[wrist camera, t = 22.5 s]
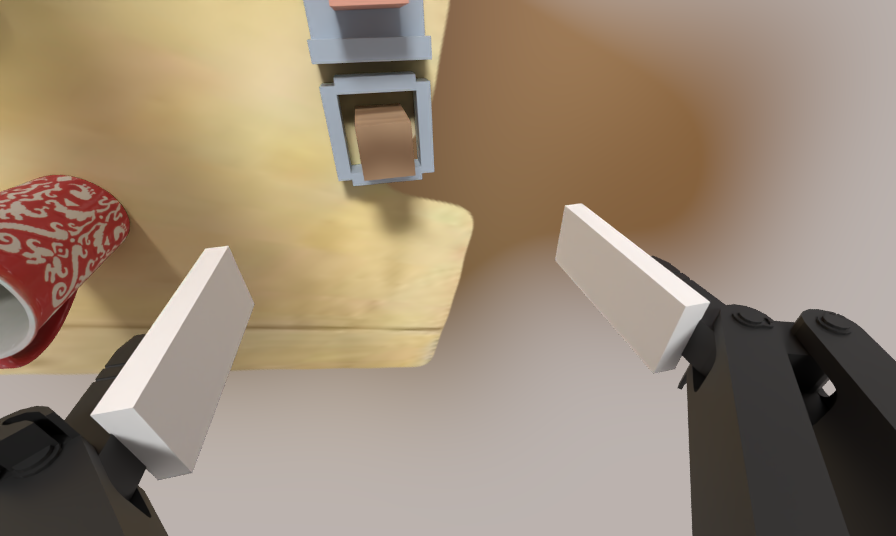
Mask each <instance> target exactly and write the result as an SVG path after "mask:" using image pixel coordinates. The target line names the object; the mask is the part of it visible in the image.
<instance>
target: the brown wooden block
mask: <svg viewBox="0 0 896 536" xmlns="http://www.w3.org/2000/svg"><path fill="white" fill-rule="evenodd" d="M355 131H356V136H357V142H358V148H359V153H360V159H361V164H362V170H363V176H364V181H369V180H378V179H387V178H396V177H406V176H415V175H416V173H415V162H414V151H413V140H412V128H411V121H410V119H409V118H408V116H407V114H406V113H405V111H404V109H403V108H402V106H401V104H400V103H395V104H381V105H368V106H355Z"/></svg>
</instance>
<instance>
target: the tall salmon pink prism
mask: <svg viewBox="0 0 896 536" xmlns="http://www.w3.org/2000/svg"><path fill="white" fill-rule="evenodd" d="M408 3H409V0H329V5H330V7H331V8H332V9H333V10H334V11H339V10H362V9H386V8H400V7H402V6H404V5H406V4H408Z"/></svg>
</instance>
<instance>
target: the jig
mask: <svg viewBox="0 0 896 536" xmlns="http://www.w3.org/2000/svg"><path fill="white" fill-rule="evenodd" d="M303 1H304V6H305V11H306V16H307V21H308V26H309V30H310V35H311V39H310V40H307V42H308V47H309V51H310V56H311V61H312V64H329V63H353V62H377V61H401V60H424V59H432V50H431V36H425V30H424V10H423V0H409V3H408V4H406V5H404V6H402V7H400V8H386V9H362V10H339V11H334V10H333V9H332V8H331V7H330V5H329V0H303ZM333 79H334V83H322V84H321V85H320V87H319V88H320V93H321V98H322V103H323V108H324V112H325V117H326V122H327V127H328V132H329V136H330V141H331V146H332V151H333V155H334V160H335V165H336V170H337V175H338V179H339V181H346V180H352V181H353V186H360V185H370V184H380V183H390V182H400V181H410V180H421V179H422V173H429V172H434V157H433V136H432V135H433V134H432V113H431V90H430V81H429V80H427V79H426V78H419V79H416V77H415V73H413V72H412V71H402V72H381V73H360V74H339V75H334V78H333ZM395 91H413V101H414V115H415V129H416V142H417V156H418V159H414V162H415V173H416V175H415V176H406V177H396V178H387V179H378V180H369V181H364V176H363V170H362V164H357V165H351V160H350V155H349V149H348V144H347V138H346V133H345V127H344V122H343V116H342V111H341V106H340V100H339V95H342V94H360V93H378V92H395Z"/></svg>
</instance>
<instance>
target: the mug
mask: <svg viewBox="0 0 896 536" xmlns="http://www.w3.org/2000/svg"><path fill="white" fill-rule="evenodd" d="M129 228H130V222H129V218H128V216H127V213H126V211H125V210H124V208H123V207H122V205H121V204H120V203H119V202H118V201H117V200H116V199H115V198H114V197H113V196H112V195H111V194H110V193H108V192H107V191H105V190H104V189H102V188H101V187H99V186H97V185H95V184H93V183H91V182H88V181H86V180H83V179H80V178H76V177H72V176H65V175H50V176H44V177H40V178H37V179H34V180H31V181H29V182H26V183H24V184H21V185H19V186H16V187H13V188H10V189H7V190H4V191H2V192H0V369H7V368H18V367H22V366H24V365H27V364H28V363H30V362H32V361H33V360H34V359H36V358H37V357H38V356H39V355H40V354H42V352H43V351H44V350H45V349H46V348H47V347H48V346H49V345H50V343H51V342H52V341H53V339H54V338H55V336H56V335H57V333H58V332H59V330H60V328H61V327H62V325H63V323H64V321H65V319H66V317H67V315H68V312H69V310H70V308H71V305H72V303H73V301H74V298H75V295H76V293H77V290H78V288H79V287H80V286H81V285H82V284H83V283H84V282H85V281H86V280H87V279H88V277H89V276H90V275H91V274H92V273H93V272H94V271H95V270H96V269H97V268H98V267H99V266H100V265H101V264H102V263H103V262H104V261H105V260H106V259H107V258H108V257H109V255H110V254H112V253H113V252H114V251H115V250H116V248H118V247H119V246H120V245H121V244H122V242H123V241H124V240H125V239H126V237H127V235H128V233H129Z"/></svg>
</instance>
